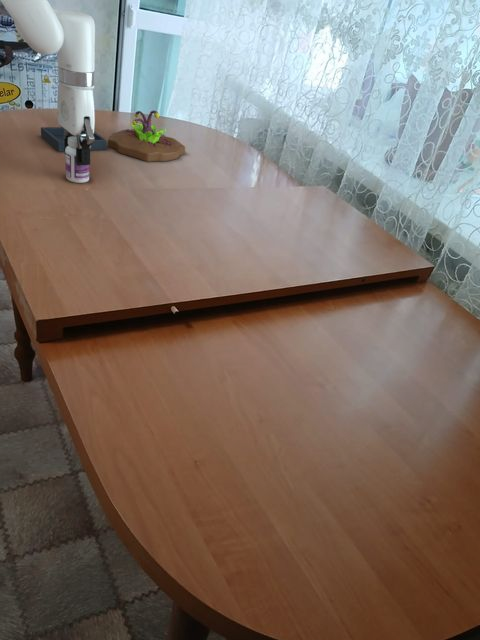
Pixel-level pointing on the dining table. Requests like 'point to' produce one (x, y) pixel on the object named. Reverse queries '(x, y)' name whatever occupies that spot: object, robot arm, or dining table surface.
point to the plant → (146, 141)
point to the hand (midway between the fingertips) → (77, 159)
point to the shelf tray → (57, 137)
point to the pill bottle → (72, 169)
